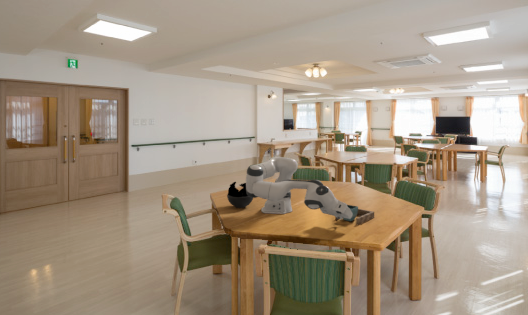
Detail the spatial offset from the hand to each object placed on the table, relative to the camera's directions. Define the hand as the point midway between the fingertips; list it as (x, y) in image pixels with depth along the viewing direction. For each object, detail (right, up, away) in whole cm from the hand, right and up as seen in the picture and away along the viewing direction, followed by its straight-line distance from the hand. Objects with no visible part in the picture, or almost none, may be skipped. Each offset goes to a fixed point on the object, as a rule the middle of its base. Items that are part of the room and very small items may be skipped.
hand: (340, 218), depth 202 cm
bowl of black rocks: (-65, 0, +44) cm, 78 cm away
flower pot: (+8, -3, +11) cm, 14 cm away
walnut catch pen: (+12, -3, +13) cm, 18 cm away
